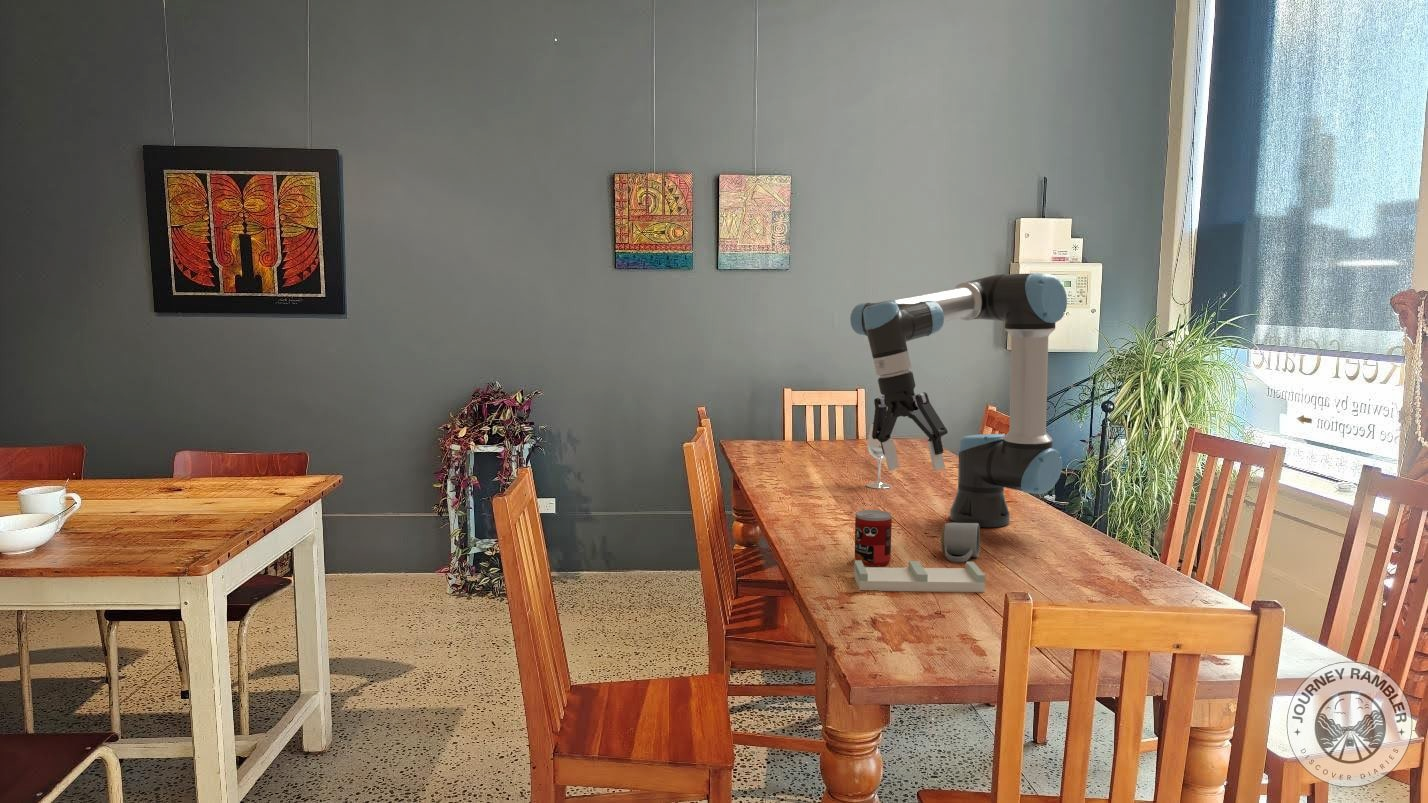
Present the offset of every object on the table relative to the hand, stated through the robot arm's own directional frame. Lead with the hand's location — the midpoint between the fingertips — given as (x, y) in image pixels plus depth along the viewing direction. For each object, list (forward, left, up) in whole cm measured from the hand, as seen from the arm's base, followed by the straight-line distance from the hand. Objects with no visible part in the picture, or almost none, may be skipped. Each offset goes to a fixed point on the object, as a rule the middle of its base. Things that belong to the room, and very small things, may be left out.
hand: (916, 469), depth 185 cm
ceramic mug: (-13, -9, -22) cm, 27 cm away
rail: (+1, +11, -22) cm, 24 cm away
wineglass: (-6, -82, -22) cm, 85 cm away
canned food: (+8, -4, -22) cm, 24 cm away
